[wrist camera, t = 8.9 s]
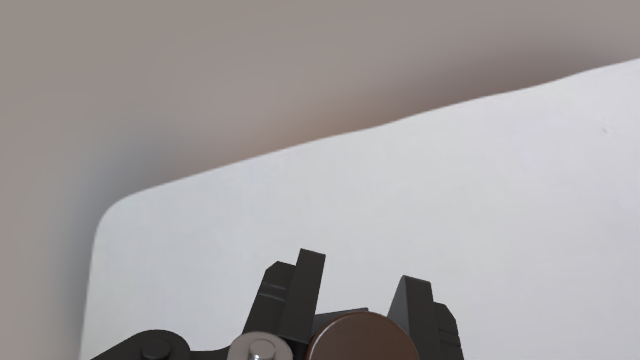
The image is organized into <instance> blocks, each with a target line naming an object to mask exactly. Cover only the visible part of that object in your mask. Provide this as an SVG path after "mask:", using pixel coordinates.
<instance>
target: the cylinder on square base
mask: <svg viewBox="0 0 640 360" xmlns="http://www.w3.org/2000/svg"><path fill="white" fill-rule="evenodd" d="M303 360H420V359H419V355H418V353H417V350H416V348H415V346H414V344H413V342H412V340H411V339H410V337H409V336H408V334H407V333H406V332H405V331H404V330H403V329H402V328H401V327H400V326H399V325H398V324H397V323H395V322H394V321H392V320H391V319H389V318H387V317H385V316H383V315H381V314H378V313H375V312H370V311H368V308H367V307H366V308H359V309H352V310H345V311H338V312H331V313H324V314H317V315H314V321H313V326H312V331H311V336H310V342H309V345H308V347H307V349H306V351H305V354H304V357H303Z"/></svg>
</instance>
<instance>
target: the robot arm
mask: <svg viewBox="0 0 640 360" xmlns="http://www.w3.org/2000/svg"><path fill="white" fill-rule="evenodd" d="M325 257H326V255H325V254H321V253H317V252H313V251H310V250H306V249H302V248H301V249H300V253H299V256H298V260H297V263H296V266H295V265H291V264H287V263H283V262H280V261H277V262H276V263H274V264H273V265H272V266H270V267H269V268H268V269H266V271H265V274H264V276H263V279H262V282H261V284H260V287H259V290H258V292H257V295H256V298H255V300H254V303H253V305H252V308H251V311H250V313H249V316H248V319H247V321H246V324H245V327H244V329H243V332H242V334H241V335H240V336H239V337H237V338H236V339H235V340H234V341H233V342H232V344H231V345H230V346H227V347H225V348H222V349H219V350H214V351H190V348H189V345H188V344H187V342H186V341H185V340H184V339H183V338H182V337H181V336H179V335H178V334H175V333H173V332H170V331H166V330H147V331H143V332H140V333H137V334H135V335H133V336H131V337H130V338H128V339H126V340H124V341H123V342H121V343H119V344H117V345H116V346H114V347H112V348H110V349H108V350H107V351H105V352H103V353H101V354H100V355H98V356H96V357H94V358H93V359H91V360H303V357H304V354H305V351H306V349H307V347H308V345H309V342H310V336H311V331H312V326H313V321H314V315H315V310H316V305H317V299H318V294H319V289H320V284H321V278H322V273H323V268H324V262H325ZM387 318H389V319H391V320H392V321H394V322H395V323H397V324H398V325H399V326H400V327H401V328H402V329H403V330H404V331H405V332H406V333H407V334H408V336H409V337H410V339H411V340H412V342H413V344H414V346H415V348H416V350H417V353H418V355H419V359H420V360H464V357H463V353H462V348H461V343H460V338H459V336H458V329H457V324H456V320H455V318H454V316H453V315H452V314H451V312H450V311H449V309H448V308H447V307H446V305H444V304H441V303H437V302H434V301H433V295H432V289H431V283H430V282H429V281H425V280H421V279H417V278H413V277H409V276H405V275H403V276H402V277H401V279H400V282H399V284H398V287H397V290H396V293H395V296H394V298H393V301H392V304H391V307H390V309H389V312H388V315H387Z"/></svg>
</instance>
